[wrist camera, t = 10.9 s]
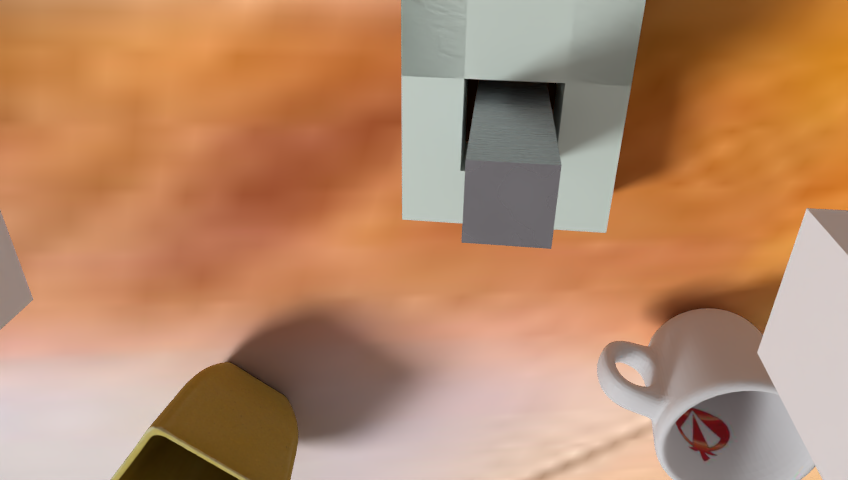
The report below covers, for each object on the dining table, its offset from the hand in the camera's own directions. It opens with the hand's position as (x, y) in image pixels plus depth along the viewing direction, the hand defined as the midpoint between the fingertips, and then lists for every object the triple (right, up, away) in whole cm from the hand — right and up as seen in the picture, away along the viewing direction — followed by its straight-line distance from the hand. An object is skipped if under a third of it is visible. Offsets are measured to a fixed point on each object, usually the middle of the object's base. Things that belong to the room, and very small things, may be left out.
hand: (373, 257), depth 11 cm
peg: (+5, +7, +22) cm, 24 cm away
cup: (+16, -6, +28) cm, 33 cm away
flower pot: (-12, -11, +35) cm, 38 cm away
